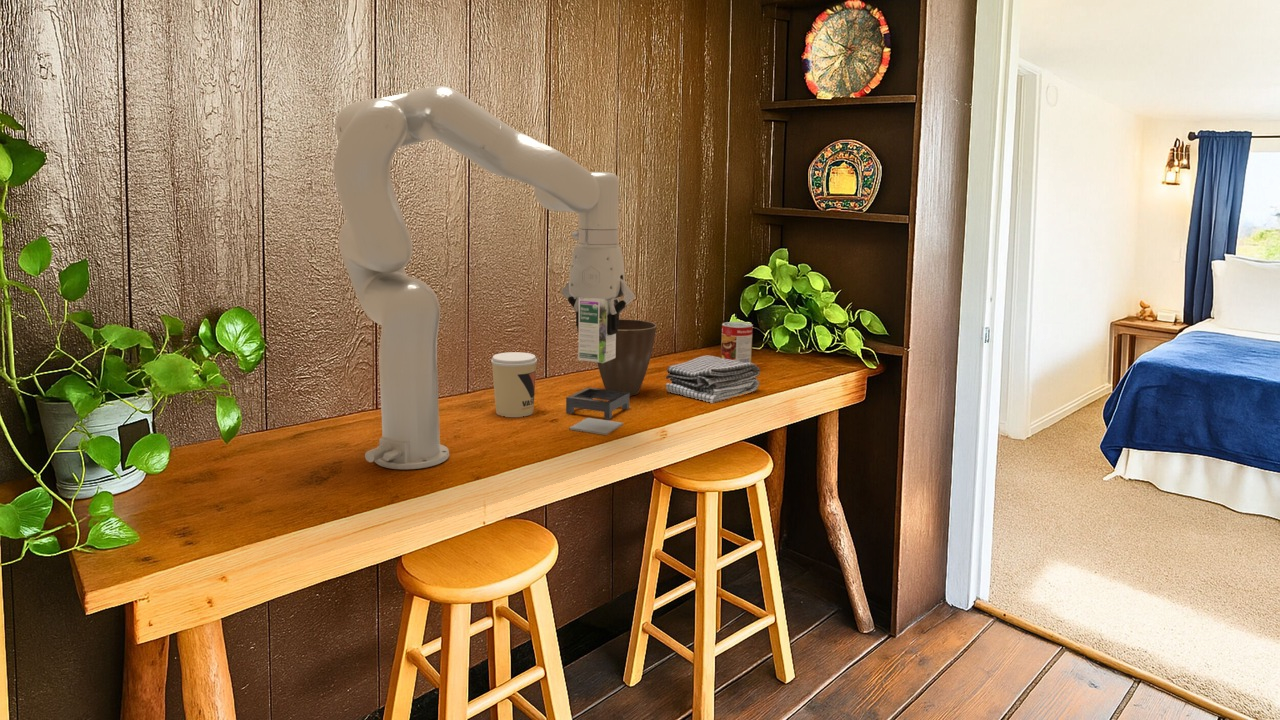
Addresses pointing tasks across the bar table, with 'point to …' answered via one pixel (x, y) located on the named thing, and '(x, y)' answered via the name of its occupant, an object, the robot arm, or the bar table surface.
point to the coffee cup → (514, 383)
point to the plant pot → (629, 356)
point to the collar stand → (598, 401)
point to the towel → (712, 378)
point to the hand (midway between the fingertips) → (597, 331)
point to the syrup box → (595, 331)
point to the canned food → (737, 341)
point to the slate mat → (596, 426)
